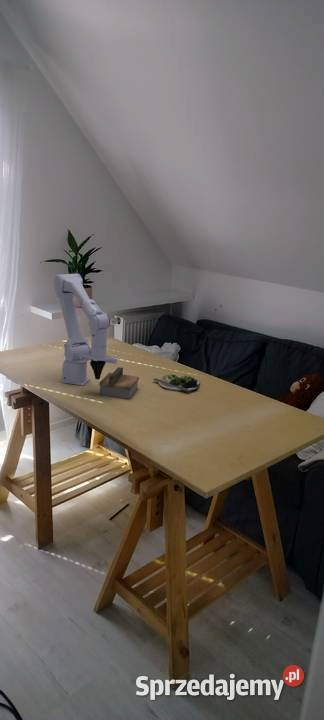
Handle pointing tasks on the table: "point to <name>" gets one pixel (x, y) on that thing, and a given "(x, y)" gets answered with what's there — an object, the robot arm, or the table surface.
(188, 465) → the table surface
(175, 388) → the salad plate
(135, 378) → the lid
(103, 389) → the storage box
